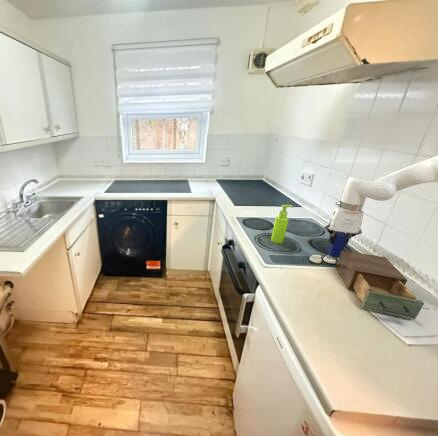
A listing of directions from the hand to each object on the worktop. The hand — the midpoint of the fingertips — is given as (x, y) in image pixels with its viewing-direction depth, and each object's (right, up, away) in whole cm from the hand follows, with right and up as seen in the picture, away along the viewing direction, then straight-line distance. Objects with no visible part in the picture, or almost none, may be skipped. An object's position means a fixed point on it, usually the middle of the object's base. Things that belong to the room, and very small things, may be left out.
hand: (337, 243), depth 107 cm
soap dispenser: (-17, -1, +18) cm, 25 cm away
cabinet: (-1, -14, -14) cm, 19 cm away
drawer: (-6, -18, -26) cm, 32 cm away
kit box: (0, -5, +2) cm, 6 cm away
